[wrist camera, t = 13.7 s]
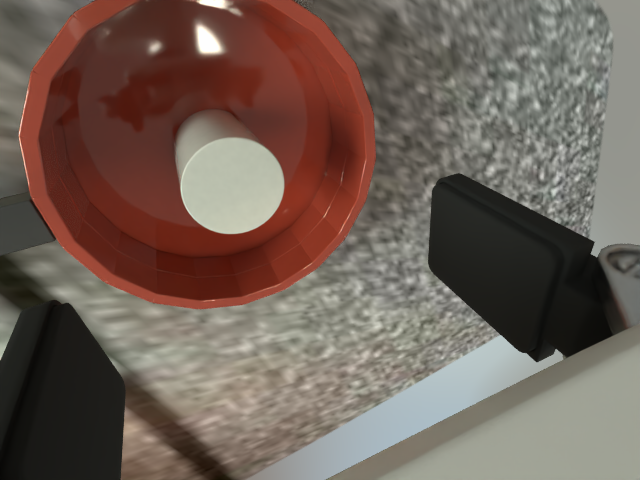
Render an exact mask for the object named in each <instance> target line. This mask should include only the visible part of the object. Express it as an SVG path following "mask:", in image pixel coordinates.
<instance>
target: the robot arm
mask: <svg viewBox="0 0 640 480" xmlns="http://www.w3.org/2000/svg"><path fill="white" fill-rule="evenodd" d="M593 245H594V241H592V240H590V239H588V238H586V237H584V236H582V235H580V234H578V233H576V232H574V231H572V230H570V229H568V228H566V227H564V226H562V225H560V224H558V223H556V222H554V221H553V220H551V219H549V218H547V217H545V216H543V215H541V214H539V213H537V212H535V211H533V210H531V209H529V208H527V207H525V206H523V205H521V204H519V203H517V202H515V201H513V200H511V199H509V198H508V197H506V196H504V195H502V194H500V193H498V192H496V191H494V190H492V189H490V188H488V187H486V186H484V185H482V184H480V183H478V182H476V181H474V180H472V179H470V178H468V177H466V176H464V175H463V174H459V173H458V174H454V175H450V176H447V177H444V178H441V179H439V180H438V181H437V183H436V186H434V187H433V190H432V202H431V220H430V238H429V255H428V264H429V267H430V270H431V271H432V272H433V274H434V275H436V276H437V277H438V278H439V279H440V280H441V281H442V282H443V283H444V284H445V285H447V286H448V287H449V288H450V289H451V290H452V291H453V292H454V293H455V294H456V295H458V296H459V297H460V298H461V299H462V300H463V301H464V302H465V303H466V304H467V305H469V306H470V307H471V308H472V309H473V310H474V311H475V312H476V313H477V314H478V315H480V316H481V317H482V318H483V319H484V320H485V321H486V322H487V323H488V324H489V325H491V326H492V327H493V328H494V329H495V330H496V331H497V332H498V333H499V334H500V335H502V336H503V337H504V338H505V339H506V340H507V341H508V342H509V343H510V344H511V345H513V346H514V347H515V348H516V349H517V350H518V351H520V352H522V353H527V354H528V355H529V356H530V357H531V358H532V359H534V360H535V361H536V362H539V361H541V360H543V359H545V358H547V357H549V356H551V355H553V354H554V352H555V349H557V350H558V351H560V352H561V353H562V354H563V359H564V360H562V361H560V362H558V363H556V364H554V365H552V366H550V367H548V368H546V369H544V370H542V371H540V372H538V373H536V374H534V375H532V376H530V377H528V378H526V379H524V380H522V381H520V382H518V383H516V384H514V385H512V386H510V387H508V388H506V389H504V390H502V391H500V392H498V393H496V394H494V395H492V396H490V397H488V398H486V399H484V400H482V401H480V402H478V403H476V404H475V405H472V406H470V407H468V408H466V409H464V410H462V411H460V412H458V413H456V414H454V415H452V416H450V417H448V418H447V419H444V420H443V421H440V422H438V423H436V424H434V425H433V426H431V427H429V428H427V429H425V430H423V431H421V432H419V433H417V434H415V435H413V436H411V437H409V438H407V439H405V440H403V441H401V442H399V443H397V444H395V445H393V446H391V447H389V448H387V449H385V450H383V451H381V452H379V453H377V454H375V455H373V456H371V457H369V458H367V459H366V460H363V461H362V462H360V463H358V464H356V465H354V466H352V467H350V468H348V469H346V470H344V471H342V472H340V473H338V474H336V475H334V476H332V477H330V478H328V479H326V480H640V245H634V244H614V245H610V246H607V247H605V248H603V249H602V250H601V251H600V253H599V255H598V257H595V256H593V255H591V251H592V248H593ZM124 410H125V385H124V381H123V379H122V377H121V375H120V374H119V372H118V371H117V370H116V368H115V367H114V365H113V364H112V362H111V361H110V360H109V358H108V357H107V355H106V354H105V352H104V351H103V350H102V348H101V347H100V345H99V344H98V342H97V341H96V340H95V338H94V337H93V335H92V334H91V332H90V331H89V329H88V328H87V327H86V325H85V324H84V322H83V321H82V319H81V318H80V317H79V315H78V314H77V312H76V311H75V309H74V308H73V307H72V306H71V305H70V304H69V303H64V304H61V303H60V302H58V301H57V300H52V301H49V302H45V303H42V304H39V305H36V306H33V307H29V308H26V309H24V310H23V311H22V312H21V313H20V316H19V318H18V321H17V323H16V325H15V328H14V330H13V332H12V335H11V337H10V339H9V342H8V344H7V347H6V349H5V351H4V354H3V356H2V358H1V361H0V480H121V462H122V445H123V428H124Z"/></svg>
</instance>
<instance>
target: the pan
mask: <svg viewBox="0 0 640 480" xmlns="http://www.w3.org/2000/svg"><path fill="white" fill-rule="evenodd" d="M208 109H218V110H223V111H227V112H229V113H232V114H234V115H235V116H237V117H238V118H240V119H241V120H242V121H243V122H244V123H245V124H246V125H247V126H248V127H249V128H250V129H251V131H252V132H253V133H254V134H255V135H256V136H257V137H258V138H259V139H260V140H261V141H262V142H263V143H264V145H265V146H266V147H267V148H268V149H269V150H270V151H271V152H272V153H273V154H274V156H275V157H276V158H277V160H278V162H279V163H280V165H281V168H282V171H283V174H284V193H283V197H282V200H281V203H280V205H279V207H278V208H277V210H276V211H275V213H274V214H273V215H272V216H271V217H270V219H269V220H267V221H266V222H265V223H264V224H262V225H261V226H259V227H257V228H255V229H253V230H250V231H248V232H244V233H238V234H224V233H218V232H215V231H212V230H209V229H207V228H205V227H204V226H202V225H201V224H199V223H198V222H197V221H196V220H194V219H193V217H192V216H191V215H190V214H189V212H188V211H187V209H186V207H185V205H184V203H183V200H182V196H181V190H180V185H179V179H178V173H177V168H176V162H175V156H174V139H175V135H176V133H177V130H178V129H179V127H180V125H181V124H182V123H183V122H184V121H185V120H186V119H187V118H188V117H190V116H191V115H193V114H195V113H197V112H199V111H203V110H208ZM18 135H19V137H18V138H19V143H20V148H21V153H22V158H23V162H24V167H25V172H26V177H27V182H28V187H29V192H30V196H31V198H32V200H33V202H34V204H35V205H36V207H37V208H38V210H39V211H40V213H41V215H42V216H43V218H44V219H45V221H46V223H47V224H48V226H49V227H50V229H51V231H52V232H53V234H54V235H55V237H56V239H57V240H58V242H59V243H60V245H61V246H62V247H63V249H65V250H66V251H67V252H68V253H69V254H71V255H72V256H73V257H74V258H75V259H77V260H78V261H79V262H80V263H82V264H83V265H84V266H85V267H86V268H88V269H89V270H90V271H91V272H92V273H94V274H95V275H96V276H97V277H98V278H100V279H101V280H102V281H103V282H105V283H107V284H109V285H111V286H114V287H116V288H118V289H121V290H123V291H125V292H128V293H130V294H132V295H135V296H137V297H140V298H142V299H144V300H147V301H149V302H152V303H157V304H164V305H171V306H178V307H185V308H192V309H208V308H218V307H227V306H237V305H243V304H247V303H250V302H253V301H255V300H258V299H261V298H264V297H267V296H269V295H272V294H275V293H278V292H281V291H283V290H285V289H287V288H288V287H290V286H291V285H293V284H294V283H296V282H297V281H299V280H300V279H302V278H303V277H305V276H306V275H308V274H310V273H311V272H313V271H314V270H316V269H317V268H318V267H319V266H320V265H321V264H322V263H323V262H324V261H325V260H326V259H327V258H328V257H329V255H330V254H331V253H332V252H333V251H334V250H335V249H336V248H337V247H338V246H339V245H340V244H341V243H342V241H343V240H344V239H345V237H347V235H348V233H349V231H350V229H351V228H352V226H353V224H354V222H355V220H356V218H357V216H358V215H359V213H360V211H361V209H362V207H363V205H364V203H365V201H366V199H367V195H368V190H369V186H370V182H371V178H372V173H373V169H374V165H375V161H376V150H375V129H374V113H373V110H372V107H371V104H370V101H369V98H368V96H367V93H366V90H365V87H364V84H363V82H362V79H361V76H360V73H359V70H358V67H357V66H356V63H355V62H354V60H353V59H352V58H351V57H350V55H349V54H348V53H347V51H346V50H345V49H344V47H343V46H342V45H341V43H340V42H339V41H338V39H337V38H336V37H335V35H334V34H333V33H332V32H331V30H330V29H329V28H328V26H327V25H326V24H325V22H324V21H322V19H320V18H319V17H317V16H316V15H314V14H313V13H311V12H310V11H308V10H307V9H305V8H304V7H303V6H301V5H300V4H298V3H297V2H295V1H294V0H95V1H93V2H91V3H90V4H88V5H86V6H84V7H83V8H81V9H79V10H77V11H76V12H74V13H73V15H71V16H70V18H69V19H68V20H67V22H66V23H65V24H64V26H63V27H62V29H61V30H60V31H59V33H58V34H57V36H56V37H55V38H54V40H53V41H52V42H51V44H50V45H49V47H48V48H47V49H46V51H45V52H44V53H43V55H42V56H41V58H40V59H39V60H38V62H37V63H36V64H35V66H34V67H33V71H31V74H30V79H29V84H28V89H27V94H26V98H25V103H24V108H23V113H22V118H21V123H20V128H19V133H18Z"/></svg>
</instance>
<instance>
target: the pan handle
mask: <svg viewBox="0 0 640 480" xmlns="http://www.w3.org/2000/svg"><path fill="white" fill-rule="evenodd" d="M55 240H56V237H55V235H54V234H53V232H52V231H51V229H50V227H49V226H48V224H47V223H46V221H45V219H44V218H43V216H42V215H41V213H40V211H39V210H38V208H37V207H36V205H35V204H34V202H33V200H32V198H31V196H30V192H26V193H22V194H18V195H14V196H9V197H5V198H1V199H0V256H1V255H5V254H9V253H12V252H16V251H19V250H23V249H27V248H30V247H34V246H38V245H41V244H45V243H48V242H52V241H55Z"/></svg>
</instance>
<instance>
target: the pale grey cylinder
mask: <svg viewBox="0 0 640 480" xmlns="http://www.w3.org/2000/svg"><path fill="white" fill-rule="evenodd" d="M174 156H175V162H176V168H177V173H178V179H179V185H180V190H181V196H182V200H183V203H184V205H185V207H186V209H187V211H188V212H189V214H190V215H191V216H192V217H193V219H194V220H196V221H197V222H198V223H199V224H201V225H202V226H204V227H205V228H207V229H209V230H212V231H215V232H218V233H224V234H238V233H244V232H248V231H250V230H253V229H255V228H257V227H259V226H261V225H262V224H264V223H265V222H266V221H267V220H269V219H270V217H271V216H272V215H273V214H274V213H275V211H276V210H277V208H278V207H279V205H280V203H281V200H282V197H283V193H284V174H283V171H282V168H281V165H280V163H279V162H278V160H277V158H276V157H275V156H274V154H273V153H272V152H271V151H270V150H269V149H268V148H267V147H266V146H265V145H264V143H263V142H262V141H261V140H260V139H259V138H258V137H257V136H256V135H255V134H254V133H253V132H252V131H251V129H250V128H249V127H248V126H247V125H246V124H245V123H244V122H243V121H242V120H241V119H240V118H238V117H237V116H235V115H234V114H232V113H229V112H227V111H223V110H218V109H208V110H203V111H199V112H197V113H195V114H193V115H191V116H190V117H188V118H187V119H186V120H185V121H184V122H183V123H182V124H181V125H180V127H179V129H178V130H177V133H176V135H175V139H174Z"/></svg>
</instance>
